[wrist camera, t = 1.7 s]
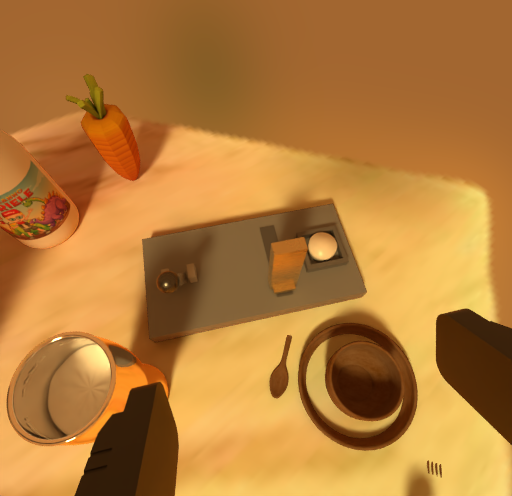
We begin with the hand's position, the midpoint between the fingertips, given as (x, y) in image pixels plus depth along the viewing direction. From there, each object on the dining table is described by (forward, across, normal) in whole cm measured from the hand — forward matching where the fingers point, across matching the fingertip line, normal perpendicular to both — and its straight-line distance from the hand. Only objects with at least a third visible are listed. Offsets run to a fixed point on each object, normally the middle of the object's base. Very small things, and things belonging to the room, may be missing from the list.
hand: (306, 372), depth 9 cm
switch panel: (+29, -1, +9) cm, 31 cm away
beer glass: (+22, +13, +16) cm, 30 cm away
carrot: (+41, +12, -4) cm, 43 cm away
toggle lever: (+28, +7, +7) cm, 30 cm away
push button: (+28, -9, +7) cm, 30 cm away
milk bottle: (+38, +23, 0) cm, 44 cm away
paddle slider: (+26, -4, +9) cm, 27 cm away
